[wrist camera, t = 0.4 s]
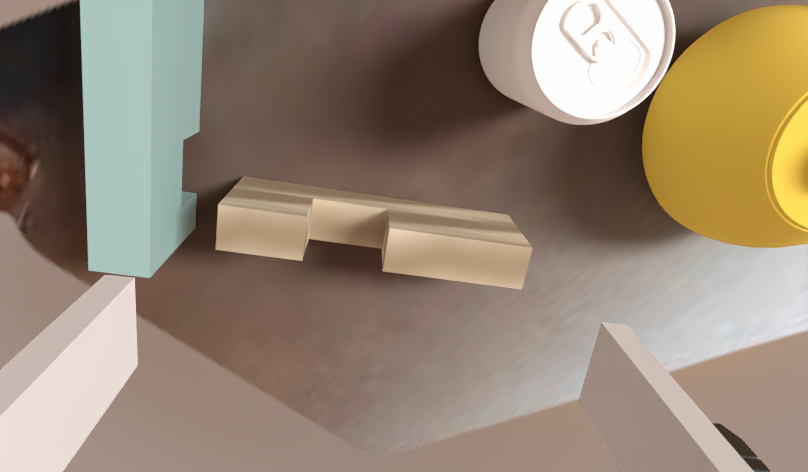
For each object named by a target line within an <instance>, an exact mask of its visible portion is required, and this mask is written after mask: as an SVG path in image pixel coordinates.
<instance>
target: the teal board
mask: <svg viewBox="0 0 808 472" xmlns="http://www.w3.org/2000/svg"><path fill="white" fill-rule="evenodd" d="M203 20H204V0H80V21H81V53H82V84H83V115H84V146H85V177H86V209H87V240H88V270H89V271H97V272H106V273H114V274H122V275H130V276H138V277H146V278H150V277H151V276H152V275H153V274H154V273H155V272H156V271H157V270H158V268H159V267H160V266H161V265H162V264H163V263H164V262H165V261H166V260H167V259H168V257H169V256H170V255H171V254H172V253H173V252H174V251H175V250H176V249H177V248H178V246H179V245H180V244H181V243H182V242H183V241H184V240H185V239H186V238H187V237H188V235H189V234H190V233H191V232H192V231H193V230H194V229H195V226H196V201H197V193H190V192H183V191H182V163H183V140H185V139H187V138H188V137H190V136H192V135H194V134H195V133H197V132H199V123H200V97H201V72H202V46H203Z"/></svg>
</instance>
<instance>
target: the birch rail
mask: <svg viewBox="0 0 808 472" xmlns="http://www.w3.org/2000/svg"><path fill="white" fill-rule="evenodd" d="M309 239H314V240H321V241H328V242H336V243H343V244H351V245H358V246H366V247H373V248H381V249H382V270H383V271H384V272H392V273H399V274H407V275H415V276H423V277H430V278H438V279H446V280H454V281H461V282H469V283H477V284H484V285H492V286H500V287H508V288H515V289H522V287H523V283H524V279H525V276H526V272H527V268H528V264H529V260H530V257H531V253H532V249H533V248H532V246H531V245H530V244H529V242H528V241H527V240H526V238H525V237H524V236H523V234H522V233H521V232H520V230H519V229H518V227H517V226H516V225H515V223H514V222H513V221H512V219H511V218H510V217H509V215H508V214H501V213H494V212H487V211H480V210H473V209H466V208H459V207H452V206H445V205H438V204H431V203H425V202H418V201H411V200H404V199H397V198H390V197H383V196H376V195H369V194H362V193H355V192H348V191H341V190H334V189H327V188H321V187H314V186H307V185H300V184H293V183H286V182H279V181H272V180H265V179H258V178H251V177H244V176H243V177H242V178H241V179H240V181H239V182H238V183H237V184H236V185H235V186H234V187H233V188H232V190H231V191H230V192H229V193H228V194H227V195H226V196H225V197H224V198H223V200H222V201H221V202H220V203H219V204H218V214H217V233H216V250H222V251H229V252H237V253H245V254H253V255H260V256H268V257H276V258H283V259H291V260H299V261H302V259H303V256H304V253H305V250H306V246H307V243H308V240H309Z"/></svg>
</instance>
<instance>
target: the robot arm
mask: <svg viewBox="0 0 808 472" xmlns="http://www.w3.org/2000/svg"><path fill="white" fill-rule="evenodd" d="M137 366H138V357H137V330H136V302H135V278H132V277H122V276H111V275H104V276H103V277H102V278H101V279H100V280H99V281H98V282H96V283H95V284H94V285H93V286H92V287H91V288H90V289H89V290H88V291H87V292H85V293H84V294H83V295H82V296H81V297H80V298H79V299H78V300H77V301H76V302H74V303H73V304H72V305H71V306H70V307H69V308H68V309H67V310H66V311H64V312H63V313H62V314H61V315H60V316H59V317H58V318H57V319H56V320H55V321H53V322H52V323H51V324H50V325H49V326H48V327H47V328H46V329H45V330H43V331H42V332H41V333H40V334H39V335H38V336H37V337H36V338H35V339H34V340H32V341H31V342H30V343H29V344H28V345H27V346H26V347H25V348H24V349H23V350H21V351H20V352H19V353H18V354H17V355H16V356H15V357H14V358H13V359H11V361H9V362H8V363H7V364H6V365H5V366H4V367H3V368H2V369H0V472H63V470H64V469H65V468H66V466H67V465H68V463H69V462H70V461H71V459H72V457H73V456H74V455H75V454H76V452H77V451H78V449H79V448H80V446H81V445H82V444H83V442H84V441H85V439H86V438H87V437H88V435H89V434H90V432H91V430H92V429H93V428H94V427H95V425H96V424H97V422H98V421H99V419H100V418H101V417H102V415H103V414H104V412H105V411H106V410H107V408H108V406H109V405H110V404H111V402H112V401H113V400H114V398H115V397H116V395H117V394H118V393H119V391H120V390H121V388H122V387H123V385H124V384H125V383H126V381H127V380H128V378H129V377H130V375H131V374H132V373H133V371H134V370H135V368H136V367H137ZM579 402H580V404H581V406H582V408H583V410H584V411H585V413H586V415H587V417H588V418H589V420H590V422H591V424H592V426H593V427H594V429H595V431H596V433H597V435H598V436H599V438H600V440H601V442H602V443H603V445H604V447H605V449H606V451H607V452H608V454H609V456H610V458H611V460H612V461H613V463H614V465H615V467H616V468H617V470H618V472H770V470H769V469H768V468H767V467H766V466H765V464H764V463H763V462H762V461H761V460H758V459H757V456H756V455H755V453H754V452H753V451H752V450H751V449H750V448H749V447H748V446H747V445H746V443H745V442H744V441H743V440H742V439H740V438H739V437H738V436H736V435H735V434H734V433H732V432H731V431H729V430H728V429H727V428H725V427H724V426H723V425H721V424H714V423H711V422H710V420H709V419H708V418H707V417H706V416H705V415H704V413H703V412H702V411H701V410H700V409H699V408H698V407H697V406H696V404H695V403H694V402H693V401H692V400H691V399H690V397H689V396H688V395H687V394H686V393H685V392H684V390H683V389H682V388H681V387H680V386H679V385H678V384H677V383H676V381H675V380H674V379H673V378H672V377H671V376H670V374H669V373H668V372H667V371H666V370H665V369H664V367H663V366H662V365H661V364H660V363H659V362H658V361H657V359H656V358H655V357H654V356H653V355H652V354H651V352H650V351H649V350H648V349H647V348H646V347H645V346H644V344H643V343H642V342H641V341H640V340H639V339H638V338H637V336H636V335H635V334H634V333H633V332H632V331H631V329H630V328H629V327H628V326H627V325H623V324H613V323H602V322H601V326H600V329H599V333H598V336H597V340H596V343H595V346H594V350H593V353H592V357H591V360H590V364H589V367H588V371H587V374H586V377H585V381H584V384H583V388H582V391H581V395H580V398H579Z"/></svg>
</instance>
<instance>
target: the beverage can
mask: <svg viewBox="0 0 808 472" xmlns="http://www.w3.org/2000/svg"><path fill="white" fill-rule="evenodd" d="M674 44H675V20H674V15H673V11H672V8H671V5H670V3H669V0H495V1H494V2H493V3H492V5H491V6H490V8H489V9H488V11H487V13H486V15H485V17H484V20H483V22H482V26H481V29H480V34H479V56H480V61H481V65H482V67H483V70H484V72H485V74H486V76H487V78H488V79H489V81H490V82H491V83H492V85H493V86H494V87H495V88H496V89H497V90H498V91H500V92H501V93H502V94H504V95H505V96H507V97H509V98H511V99H513V100H515V101H517V102H519V103H521V104H523V105H526V106H528V107H530V108H532V109H534V110H536V111H538V112H540V113H543V114H545V115H547V116H549V117H551V118H553V119H556V120H558V121H561V122H564V123H568V124H575V125H591V124H597V123H602V122H606V121H609V120H611V119H614V118H616V117H618V116H620V115H622V114H624V113H626V112H627V111H629V110H630V109H632V108H634V107H635V106H637V105H638V104H639V103H641V102H642V101H643V100H644V99H646V98H647V97H648V96H649V95H650V94H651V93H652V91H653V90H654V89H655V88H656V87H657V85H658V84H659V82H660V81H661V79H662V78H663V76H664V74H665V72H666V70H667V68H668V66H669V63H670V61H671V58H672V54H673V50H674Z"/></svg>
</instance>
